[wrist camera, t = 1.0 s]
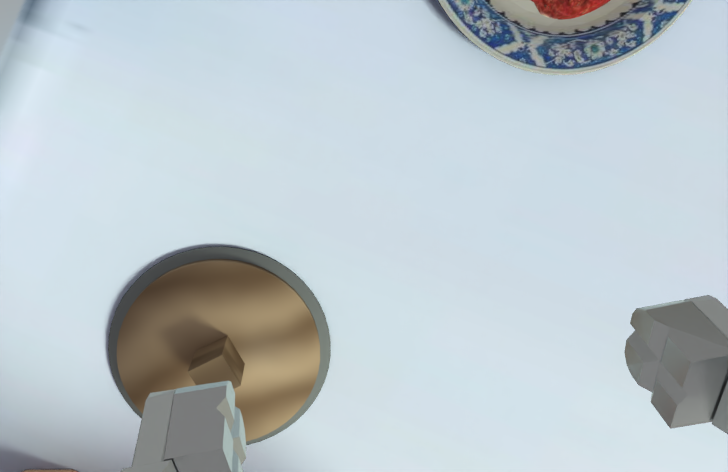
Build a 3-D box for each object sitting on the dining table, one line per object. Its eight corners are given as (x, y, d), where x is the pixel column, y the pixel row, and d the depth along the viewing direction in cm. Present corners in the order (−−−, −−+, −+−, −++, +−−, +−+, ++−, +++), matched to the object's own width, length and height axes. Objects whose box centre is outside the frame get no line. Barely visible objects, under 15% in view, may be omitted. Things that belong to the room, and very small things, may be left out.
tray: (365, 388, 57) (365, 390, 56) (181, 478, 57) (180, 481, 56) (267, 208, 51) (267, 209, 51) (65, 308, 51) (63, 310, 51)
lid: (352, 386, 56) (357, 415, 51) (184, 468, 56) (174, 504, 51) (262, 224, 51) (258, 238, 46) (80, 314, 51) (57, 338, 46)
